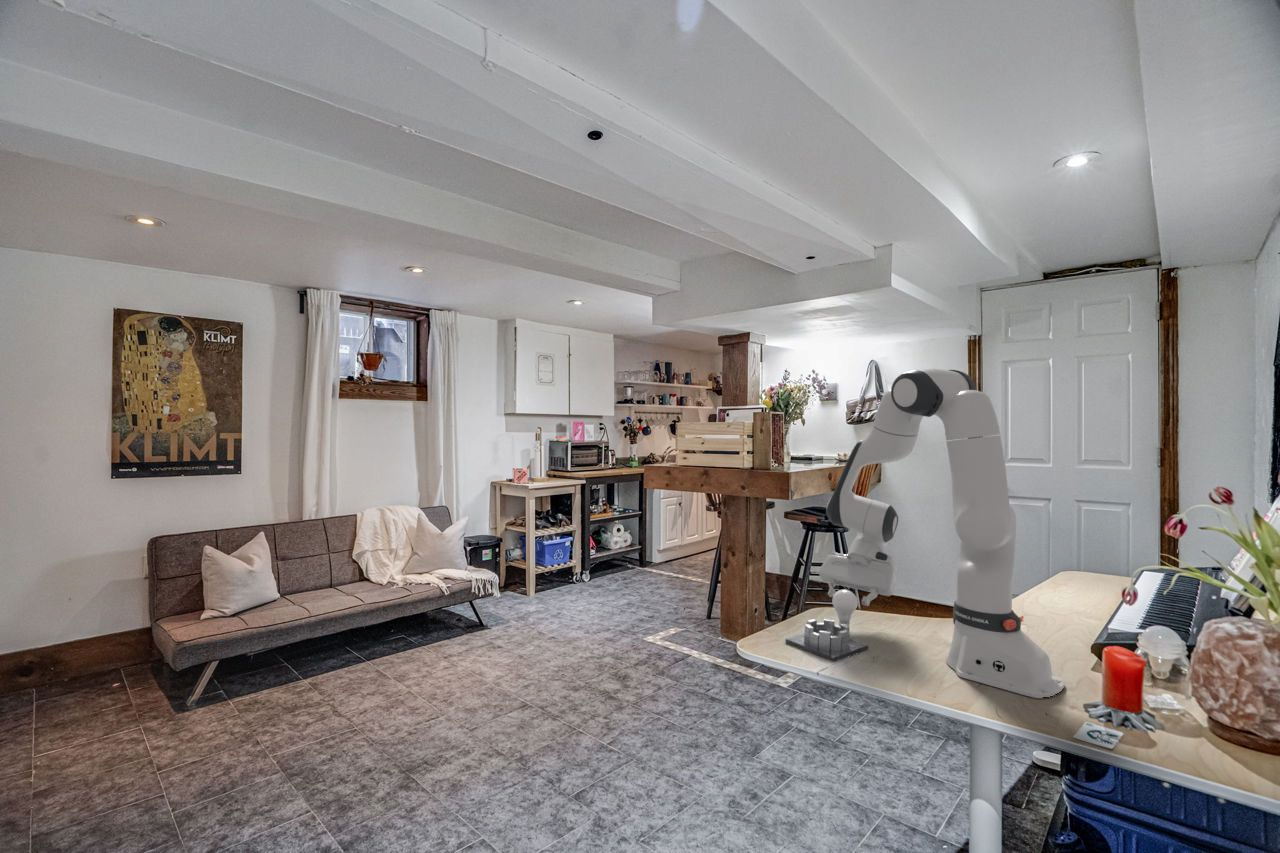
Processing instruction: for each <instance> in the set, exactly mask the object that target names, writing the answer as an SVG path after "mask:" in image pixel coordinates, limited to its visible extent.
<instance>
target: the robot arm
mask: <svg viewBox="0 0 1280 853" xmlns="http://www.w3.org/2000/svg"><path fill="white" fill-rule="evenodd" d="M932 416H936V417H938V418H939V419H940V420H941V421H942V424H943V428H944V433H945V434H944V435H945V440H946V447H947V454H948V461H949V468H950V476H951V492H952V507H953V520H954V527H955V532H956V534H957V536H958V538H959V540H960V544H959V552H958V561H957V568H956V590H955V591H956V595H955V596H956V598H955V601H954V602H953V612H952V618H953V620H952V621H953V625H954V627H953V632H952V633H953V634H952V640H951V643H950V647H949V652H948V654H947V657H946V659H945V660H946V661H945V662H946V664H947V665H948V666H949V667H950V668H952V669H953V670H954V672H956V675H957V676H958V677H960V678H963V679H965V680H970V681H973V682H977V683H979V684H980V683H981V684H983V685H988V686H991V687H995V688H998V689H1001V690H1005V691H1008V692H1012V693H1016V694H1019V695H1022V696H1026V697H1029V698H1034V699H1044V698H1043V697H1049V698H1051V697H1050V696H1053V695H1055V694H1057V693H1059V692H1060V691H1061V690H1062V689H1063V688H1064V689H1065V683H1064V680H1063V679H1062V678H1061V677H1059V676H1057V675H1054V674H1053V672H1052V665H1051V660H1050V657H1049V655H1048V653H1047V652H1046V651H1045V650H1044V649H1042V647H1040V646H1039V645H1038V644H1036V642H1034V640H1032V639H1031V637H1029V636H1028V635H1027V634H1026V633H1025V632H1024V631H1022V629H1021V628H1022V622H1024V615H1021V616H1018V615H1017V613H1015V611H1014V610H1013V609H1012V608H1013V581H1014V566H1015V552H1016V551H1015V548H1016V532H1017V517H1016V513H1015V510H1014V509H1013V507H1012V506H1011V505H1010V497H1009V490H1008V489H1009V488H1008V480H1007V467H1006V462H1005V455H1004V449H1003V443H1002V436H1001V431H1000V426H999V421H998V418H997V415H996V412H995V408H994V406H993V403H992V401H991V398H990V396H988V395H987V394H986V393H985V392H982V391H980V390H977V387H976V384H975V381H974V379H972V377H971V376H970V375H969V374H967V373H966V372H964V371H960V370H955V369H939V368H926V369H925V368H923V369H913V370H908V371H906V372H903V373H902V374H900V375H898V376H897V377H896V378H895V379H894V381H893V382H892V385H891V388H890V389H888V390H887V391H886V392H884V394H883V396H882V398H881V401H880V403H879V405H878V407H877V410H876V413H875V417H874V420H873V421H874V422H873V424H872V429H871V430H870V433H869V434H868V435H867V436H866V437H865V438H864V439H860V440H858V441H857V442H856V444H855V445H854V447H853V449H852V450H851V452H850V455H849V456H848V459H847V461H846V462H845V466H844V468H843V470H842V472H841V475H840V477H839V480H838V482H837V485H836V486H835V489H834V490H833V491H834V492H833V493H832V495H831V497H830V498H829V500H828V502H827V505H826V510H825V515H826V516H827V518H828V520H829V521H830V523H831V524H832V525H833V526H838V527H840V528H841V527H842V528H844V529H845V528H846V529H847V528H848V529H850V530H853V531H856V534H855V535H856V537H855V538H854V539H853V540H852V542H851V545H850V546H849V549H848V551H847V554H846V553H845V554H844V553H838V552H832V553H829V554H827V555H826V557H825V560H824V562H823V563H822V564H821V567H820V568H819V570H818V575H819V578H820V579H821V581H822V582H824V583H828V592H827V595H828V597H830V598H833V596H834V594H835V593H836V592H837V591H836V589H835V588H836V585H837V586H841V587H846V588H850V589H855V590H858V591H859V590H860V591H862V592H863V591H864V592H868V594H867V595H866V596H865V595H863V596H862V599H861V604H862V605H863V606H867V607H869V606H870V603H871V602H872V601H873V600H874V599H876V598H877V597H878V595H880V596H885V597H890V596H892V595H894V593H895V590H896V587H897V586H896V585H897V576H896V575H897V573H898V567H897V565H896V562H895V560H894V558H893V557H892V555H890V554H888V553H886V552H885V548H886V547H887V546H888V544H889V542H890V541H891V540H892V539H893V538H894V537H895V536H894V535H895V532H896V530H897V526H898V523H899V516H898V513H897V512H896V509H895V508H894V507H893V505H890V504H888V503H885V502H883V501H879V500H875V499H871V498H869V497H864V496H860V495H858V494H855V493H854V492H853V488H854V486H855V483H856V481H857V479H858V476H859V474H860V471H861V470H862V468H863V467H866V466H869V465H875V464H885V463H886V464H887V463H888V464H889V463H894V462H898V461H900V460H903V459H905V458H906V457H908V456H909V455H910V454H911V453H912V452H913V449H914V448H915V447H914V446H915V445H916V441H917V437H918V434H919V430H920V425H921V421H922V419H923V417H927V418H930V417H932ZM1059 694H1060V693H1059ZM1055 696H1056V695H1055ZM1053 697H1054V696H1053Z"/></svg>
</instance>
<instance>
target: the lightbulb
mask: <svg viewBox="0 0 1280 853" xmlns="http://www.w3.org/2000/svg"><path fill="white" fill-rule="evenodd" d="M831 600H832V606H833V607H834V610H835V611H836V613H837V618H838V626H840V624H846V625H847V626H848V627H849V628H850V624H851V623H850V621H851V619H852V616H853V614H854V612H855V611H856V610H857V608H858V604H859V602H858V598H857V596H856V595H855V593H853V591H851V590H849V589H844V588H843V589H839V590H837V591H836V593H835V594H834V596H833V597H832V599H831Z"/></svg>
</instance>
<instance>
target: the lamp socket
mask: <svg viewBox="0 0 1280 853" xmlns="http://www.w3.org/2000/svg"><path fill="white" fill-rule="evenodd" d="M835 623H836V622H835V620H833V619H828V618H824V619H823V622H818V620H817V619H814V618H812V619H811V618H810V619H808V620H806V624H804V632H803V633H800V634H797V635H794V636H790V637H787V638H785V643H786V644H787V645H790V646H792V645H793V646H792V647H795V648H797V649H800V650H802V651H804V652H807V653H810V654H813V655H815V656H817V657H820V658H822V659H825V660H828V661H830V662H832V661H833V663H834V661H835V662H837V660H838V661H841V660H843V659H846V658H848V656H849V657H851V656H854V655H856V653H857V654H859V653H860V654H861V652H864V651H867V650H869V644H866V643H863V642H860V641H857V640H854V639H852V638H850V635H851V634H850V633H851V632H850V626H849V627H848V626H847V625H846V624H840V626H839V624H835Z"/></svg>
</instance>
